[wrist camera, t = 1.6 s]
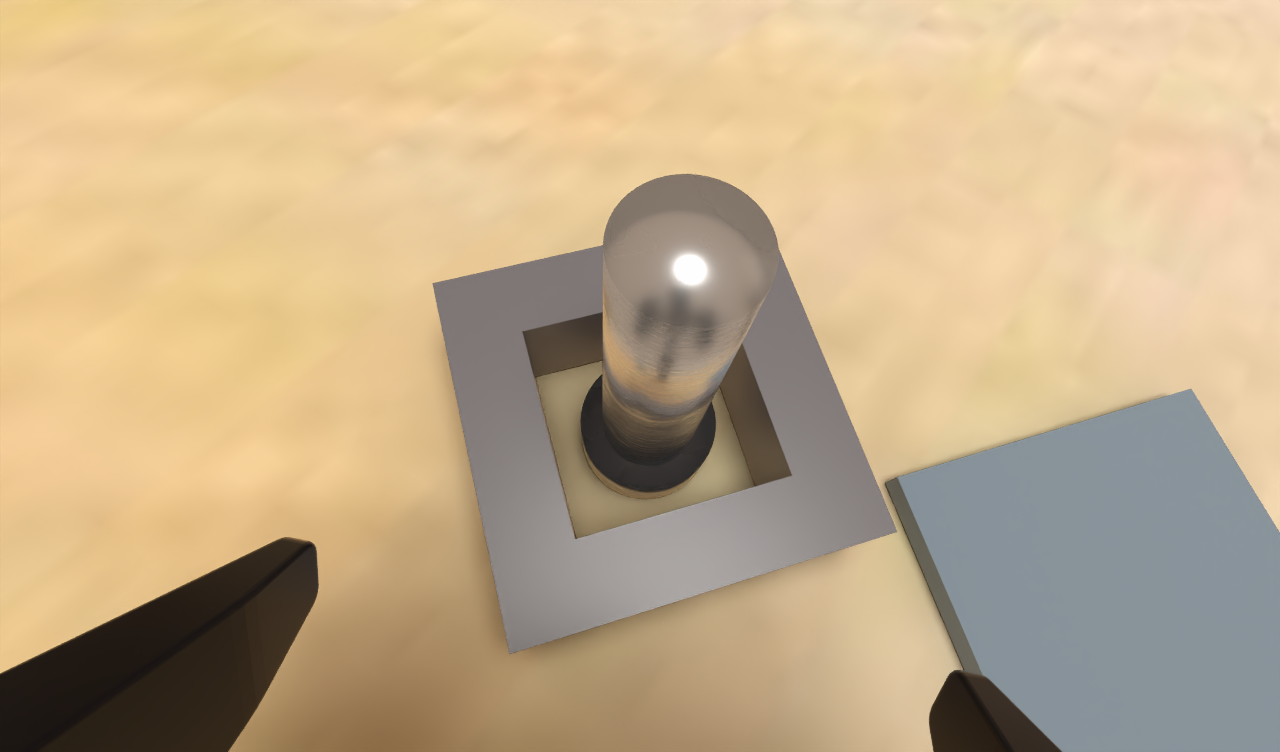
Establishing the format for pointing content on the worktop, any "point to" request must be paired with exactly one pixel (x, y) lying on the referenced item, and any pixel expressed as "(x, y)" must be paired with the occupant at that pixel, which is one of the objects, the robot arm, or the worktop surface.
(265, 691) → the robot arm
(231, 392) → the worktop surface
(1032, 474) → the mat
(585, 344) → the socket block
